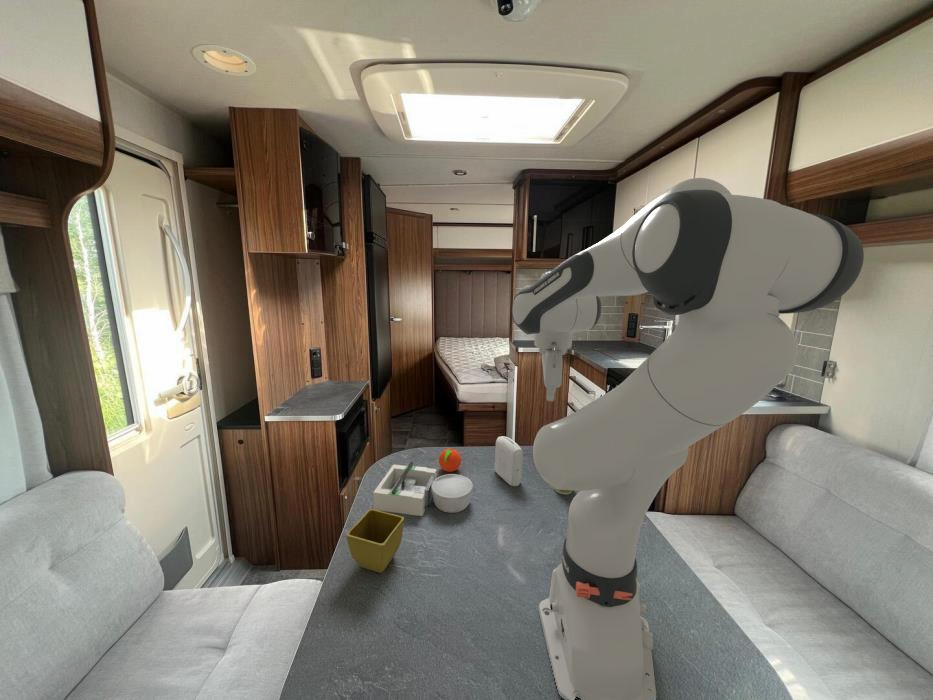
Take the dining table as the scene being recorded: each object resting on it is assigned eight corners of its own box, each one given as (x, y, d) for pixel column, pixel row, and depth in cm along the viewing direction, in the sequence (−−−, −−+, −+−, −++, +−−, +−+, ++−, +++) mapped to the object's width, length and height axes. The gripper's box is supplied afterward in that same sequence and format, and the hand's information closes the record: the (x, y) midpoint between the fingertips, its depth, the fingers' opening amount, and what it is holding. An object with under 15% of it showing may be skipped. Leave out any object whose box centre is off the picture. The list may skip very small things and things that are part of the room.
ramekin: (457, 485, 105) (457, 469, 104) (481, 505, 96) (481, 488, 95) (423, 499, 99) (423, 481, 98) (445, 522, 90) (445, 503, 89)
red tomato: (455, 480, 108) (455, 458, 106) (434, 475, 110) (433, 454, 108) (464, 466, 115) (464, 446, 114) (443, 462, 117) (443, 442, 116)
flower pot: (384, 584, 72) (383, 545, 70) (347, 572, 75) (344, 534, 73) (405, 552, 80) (405, 516, 78) (371, 542, 83) (369, 507, 81)
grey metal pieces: (423, 516, 91) (423, 495, 90) (384, 511, 93) (383, 490, 92) (438, 483, 106) (438, 464, 104) (404, 479, 107) (403, 460, 106)
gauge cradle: (422, 516, 92) (422, 497, 91) (374, 509, 94) (373, 491, 93) (436, 484, 105) (436, 468, 104) (393, 479, 107) (393, 463, 106)
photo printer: (523, 484, 106) (525, 445, 103) (511, 488, 104) (513, 448, 101) (504, 467, 115) (505, 431, 112) (492, 470, 113) (493, 434, 110)
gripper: (570, 348, 77) (565, 410, 80) (563, 332, 97) (559, 382, 100) (540, 347, 78) (536, 407, 81) (539, 331, 98) (536, 381, 101)
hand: (549, 393), depth 91 cm, fingers open, 8 cm apart
